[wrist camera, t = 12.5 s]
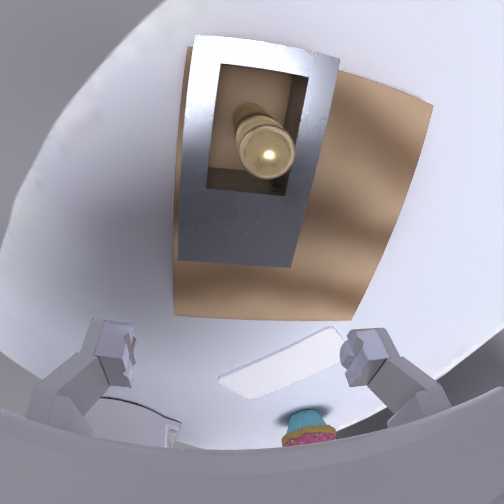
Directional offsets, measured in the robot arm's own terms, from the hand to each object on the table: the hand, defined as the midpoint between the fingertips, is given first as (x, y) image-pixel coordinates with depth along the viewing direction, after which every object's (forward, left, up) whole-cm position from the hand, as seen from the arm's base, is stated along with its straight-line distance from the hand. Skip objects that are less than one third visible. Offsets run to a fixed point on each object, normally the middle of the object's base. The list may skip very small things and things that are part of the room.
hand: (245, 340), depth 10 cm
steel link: (+4, 0, -10) cm, 11 cm away
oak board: (0, -4, -12) cm, 13 cm away
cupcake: (-35, -15, -12) cm, 40 cm away
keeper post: (+6, 0, -10) cm, 12 cm away
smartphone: (-20, -8, -13) cm, 25 cm away
